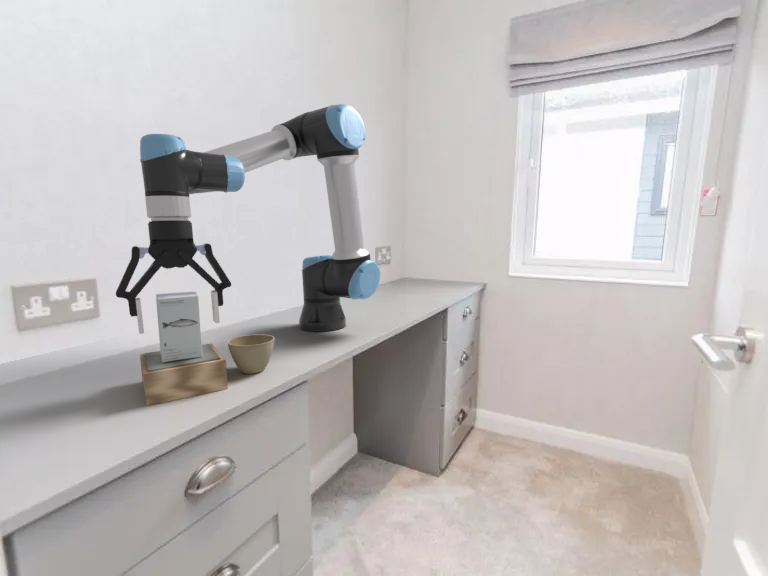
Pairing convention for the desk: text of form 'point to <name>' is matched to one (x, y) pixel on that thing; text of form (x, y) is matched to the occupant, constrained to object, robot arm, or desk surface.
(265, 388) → the desk surface
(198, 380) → the wooden box
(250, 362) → the flower pot
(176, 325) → the supplement box
